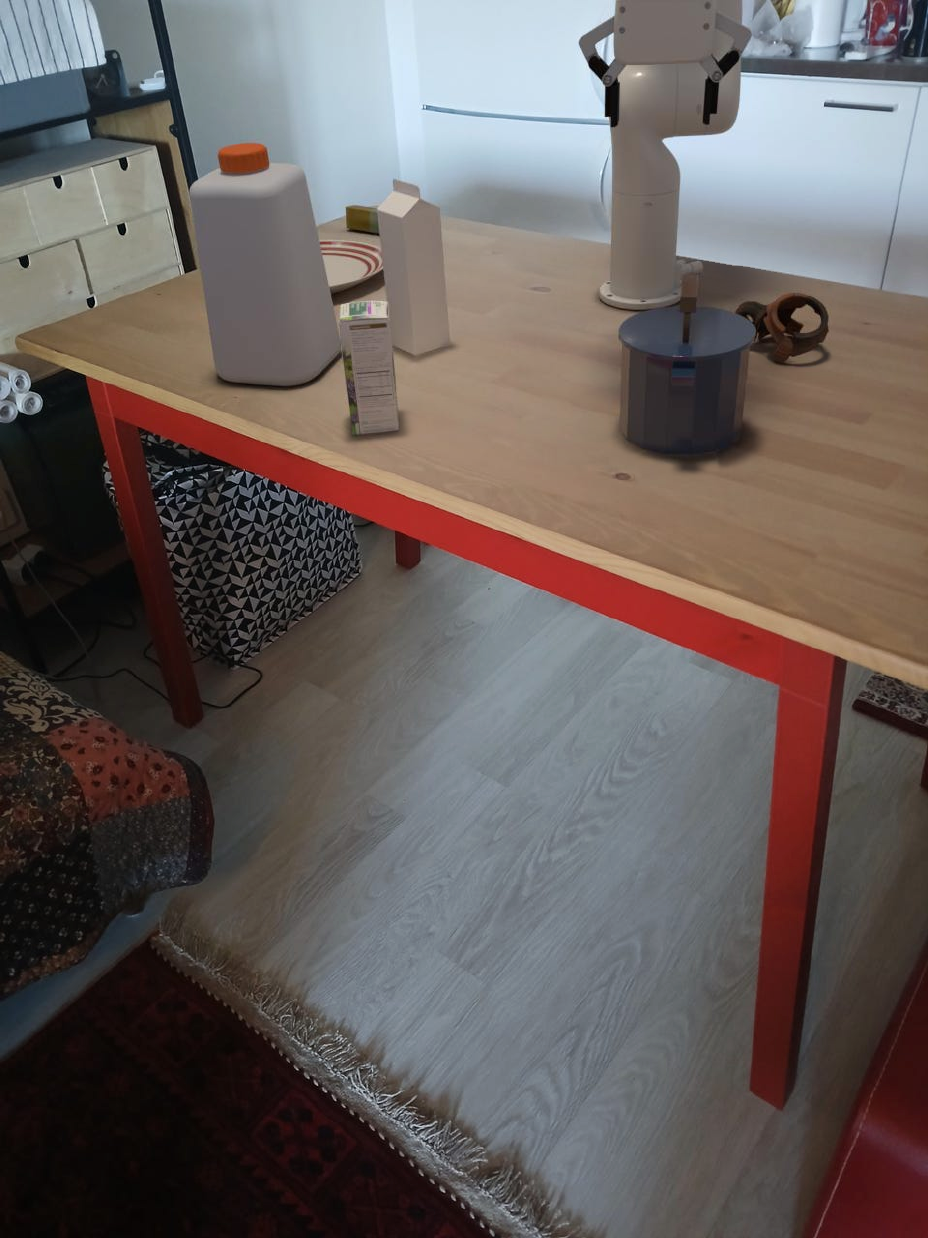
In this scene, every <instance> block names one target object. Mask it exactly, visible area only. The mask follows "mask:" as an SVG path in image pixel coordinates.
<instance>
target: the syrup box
mask: <svg viewBox="0 0 928 1238" xmlns="http://www.w3.org/2000/svg"><path fill="white" fill-rule="evenodd" d="M338 330H339V335H340V340H341V352H342V361H343V369H344V377H345V385H346V393H347V402H348V409H349V416H350V417H349V418H350V425H351V426H350V427H351V433H352V434H351V435H353V436H354V435H365V434H366V435H367V434H375V433H385V432H394V431H399V430H400V415H399V402H398V401H399V400H398V392H397V381H396V380H397V379H396V370H395V359H394V348H393V347H394V346H392V337H391V327H390V317H389V308H388V302H387V300H361V301H359V300H358V301H353V302H348V303H342V304H340V305H339V321H338Z"/></svg>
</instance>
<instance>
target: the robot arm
mask: <svg viewBox="0 0 928 1238" xmlns="http://www.w3.org/2000/svg"><path fill="white" fill-rule="evenodd" d="M612 34H613V38H612V39H613V43H612V44H613V56H614V59H613V60H612V61H611V62H610V64H609V65H608V63H607V62H606V61H605V60H604V59H603V58H602V57H601V55H599V52H598V50H597V48H596V44H598V43H599V42H600V41H602V40H604V39H606V38H607V37H609V36H611V35H612ZM752 36H753V35H752V30H751V29H750V28H749V27H747V26H745V25H744V24H743V0H615V3H614V15H613V16H612V17H610V18H609V19H607V20H605V21H603V22H602V23H601V24H599V25H596V27H594V28H592V29H591V30H589V31H588V32H587V33H583V35H582V36H580V38H579V40H578V46H579V48H580V50H581V52H582V55H583V57H584V59H585V61H586V63H587V66H588V68H589V69H590V70H591V71H592V73H594V75H595V76H596V77H597V78H598V79H599V80H600V81H601V84H602V85H603V86H604V118H608V120H609V121H608V122H609V130H610V131H609V132H610V142H611V143H610V144H611V214H610V215H611V216H610V217H611V219H610V220H611V221H610V261H609V264H610V269H609V280H607V281H605V282H603V283H602V284H601V286H600V287H599V291H598V292H599V294H598V296H599V299H600V300H601V301H602V302H603V303H605V304H606V305H609V306H611V307H613V308H614V307H615V308H618V309H624V310H633V311H634V310H636V311H637V310H638V311H644V310H645V311H648V310H652V309H657V308H663V307H671V306H673V305H675V304H677V303H678V302H680V296H681V284H682V275H700V274H703V271H704V265H703V263H702V261H701V260H696V261H691V262H688V263H686V261H685V260H684V259H681V260H680V259H679V260H676V259H677V243H678V229H679V228H678V227H679V208H680V194H681V193H680V191H681V170H680V165H679V163H678V161H677V159H676V157H675V156H674V154H673V153H672V152H671V150H670V149H669V148H668V147H667V145H666V144H665V143H664V141H663V140H664V139H668V138H669V139H670V138H677V137H679V138H680V137H698V136H699V137H700V136H701V137H702V136H713V135H721V134H724V133H726V132H728V131H730V130H731V129H732V128H733V126H734V125H735V123H736V121H737V118H738V116H739V115H738V114H739V110H740V101H741V82H742V81H741V80H742V79H741V78H742V55H743V53H744V51H746V50H745V49H746V48H747V46H748V44H749V42H750V41H751V39H752Z"/></svg>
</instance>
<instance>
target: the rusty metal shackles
mask: <svg viewBox="0 0 928 1238" xmlns="http://www.w3.org/2000/svg"><path fill="white" fill-rule="evenodd" d="M806 306H808V307H810V308H811V309H812V310H813V312H814V313H815V314H816V315H818V316H819V318H820V324H819V326H818V327H817V328H816V329H814V330H812V331H809V332H801V331H802V329H803V328H804V327H805V326H804V325H805V324H803V323H802V322H800V321H798V320H796V319H795V318H793V317H792V316H793V314H794V312H796V310H797V309H803V308H804V307H806ZM734 313H736V314H738V315H741V316H743V317H745V318H746V319H748V320H749V321H750V322H751V323H752V324H753V325H754V327H755V329H756V336H755V340H754V342H756V339H757V340H758V341H761V340H763V339H764V338H766V337H767V336H771V337H772V339H773V340H774V341H775V342H776V343H777V344H778V345H777V347H776V350H775V351H774V352H773V353H772V358H773V359H774V360H775V361H777V362H779V363H780V364H783V363H785V362H786V361H788V360H789V358H790V357H792V358H795V357H797V356H801V355H804V354H807V353H809V352H812V351H814V350H815V349H818V348H819V347H820V344H822V343H824V341H825V339H826V337H827V336H828V334H829V332H830V329H829V313H828V310H827V308H826V306H825V305H824V304H823V303H822V301H820V300H818V299H817V298H815V297H814V296H811V295H807V294H805V293H800V292H793V293H792V292H789V293H786V294H783V295H780V296H779V297H777V298H776V299H775V300H774V301H772V302H771V303H769V304H764V303H763V304H762V303H760V302H758V301H754V300H747V301H744V302H741V303H740V304H739V305H738V307H737V308H736V309H735V311H734ZM749 317H750V318H751V319H752V320H751V319H750V318H749ZM785 334H786V335H789V336H792V338H790V337H788V336H786V335H785ZM754 342H753V343H754Z"/></svg>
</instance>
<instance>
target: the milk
mask: <svg viewBox="0 0 928 1238" xmlns="http://www.w3.org/2000/svg"><path fill="white" fill-rule="evenodd" d="M392 189H393V190H392V191H391V193H390V194H389V195H388V196H387V197H386V198H385V199H384V200H383V201H382V203H381V204H380V205H379V206H378V207H376V208H377V216H378V225H379V233H378V235H379V242H380V248H381V252H382V261H383V269H382V270H383V277H384V286H385V287H384V288H385V295H386V296H385V297H386V302H388V308H389V317H390V327H391V337H392V347H396V348H398V349H399V350H402V351H405V352H407V353H408V354H411V355H412V356H415V357H416V356H420V355H422V354H425V353H427V352H431V351H433V350H437V349H439V348H451V340H450V327H449V325H450V324H449V313H448V299H447V286H446V274H445V273H446V272H445V261H444V260H445V259H444V258H445V257H444V245H443V232H442V220H441V219H442V218H441V207H440V206H438V205H436V204H434V203H431V202H430V201H427V200H424V199H422V198H421V190H420V187H419V185H418V184H413V183H411V182H407V181H403V180H400V179H396V178H393V179H392Z"/></svg>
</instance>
